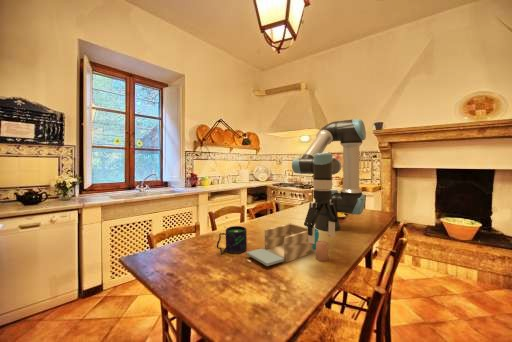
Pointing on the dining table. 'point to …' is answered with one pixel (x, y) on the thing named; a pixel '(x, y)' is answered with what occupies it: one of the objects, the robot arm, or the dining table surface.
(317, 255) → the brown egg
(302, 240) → the crate
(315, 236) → the mug
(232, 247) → the mug
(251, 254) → the panel
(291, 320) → the dining table surface
